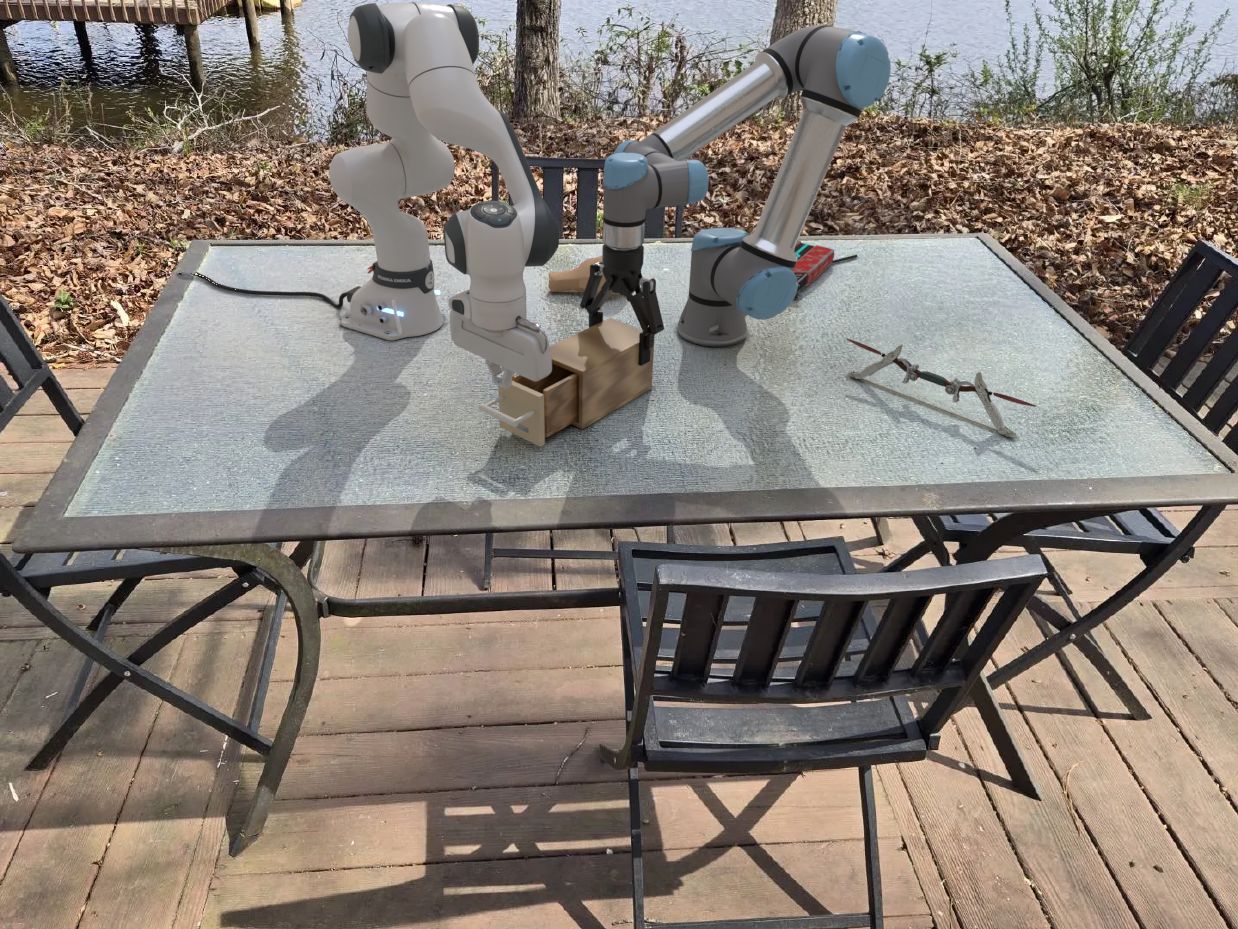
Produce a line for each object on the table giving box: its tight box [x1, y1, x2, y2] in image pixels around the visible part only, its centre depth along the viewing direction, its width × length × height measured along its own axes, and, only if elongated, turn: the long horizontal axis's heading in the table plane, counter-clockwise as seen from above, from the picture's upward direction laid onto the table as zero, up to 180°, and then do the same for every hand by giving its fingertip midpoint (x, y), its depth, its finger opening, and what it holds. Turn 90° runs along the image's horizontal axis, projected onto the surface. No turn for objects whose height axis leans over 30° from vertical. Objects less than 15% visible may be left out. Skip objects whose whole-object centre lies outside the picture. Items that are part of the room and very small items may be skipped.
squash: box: [547, 255, 619, 299], centre depth 210 cm, size 11×20×9 cm, turn 90°
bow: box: [845, 337, 1037, 438], centre depth 168 cm, size 39×2×10 cm, turn 47°
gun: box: [793, 239, 835, 300], centre depth 224 cm, size 4×31×19 cm
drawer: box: [477, 364, 579, 448], centre depth 157 cm, size 25×10×10 cm, turn 141°
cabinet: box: [549, 317, 656, 430], centre depth 166 cm, size 21×11×12 cm, turn 141°
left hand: (502, 384), depth 147 cm, fingers closed
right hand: (620, 353), depth 170 cm, fingers closed on cabinet, 11 cm apart
